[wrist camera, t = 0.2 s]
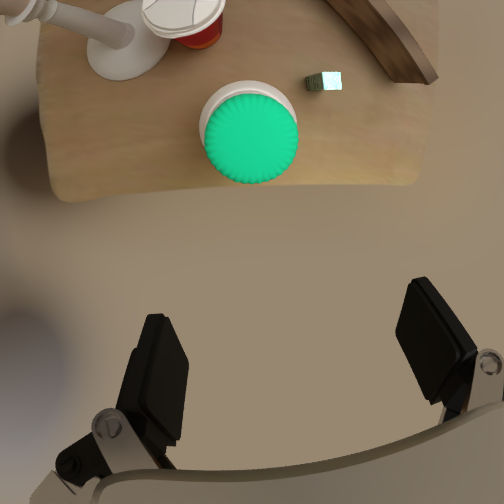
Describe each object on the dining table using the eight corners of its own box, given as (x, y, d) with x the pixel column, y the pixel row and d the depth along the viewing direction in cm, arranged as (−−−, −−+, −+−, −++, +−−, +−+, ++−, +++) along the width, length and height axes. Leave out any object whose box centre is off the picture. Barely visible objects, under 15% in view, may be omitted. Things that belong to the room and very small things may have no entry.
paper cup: (189, 1, 24) (164, -41, 12) (240, 18, 26) (241, -21, 14) (161, 47, 28) (121, 25, 16) (212, 65, 30) (196, 46, 18)
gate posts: (303, -22, 23) (326, -59, 12) (324, -19, 23) (354, -53, 12) (304, 90, 32) (332, 88, 22) (326, 92, 32) (361, 92, 22)
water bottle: (279, 99, 33) (347, 104, 11) (260, 146, 36) (292, 227, 15) (228, 82, 31) (204, 51, 10) (210, 130, 35) (161, 187, 13)
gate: (320, -4, 24) (341, -27, 16) (330, -10, 23) (353, -32, 15) (393, 83, 30) (429, 84, 22) (401, 77, 29) (438, 77, 22)
